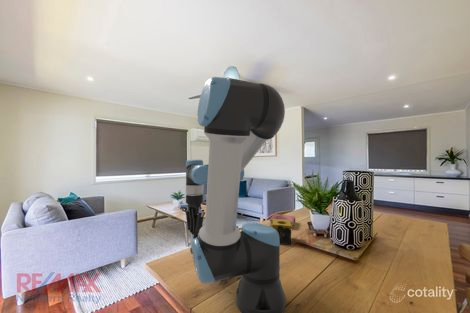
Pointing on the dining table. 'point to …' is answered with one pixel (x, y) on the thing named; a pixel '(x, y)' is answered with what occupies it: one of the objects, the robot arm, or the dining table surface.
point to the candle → (283, 230)
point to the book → (283, 217)
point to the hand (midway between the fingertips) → (194, 247)
